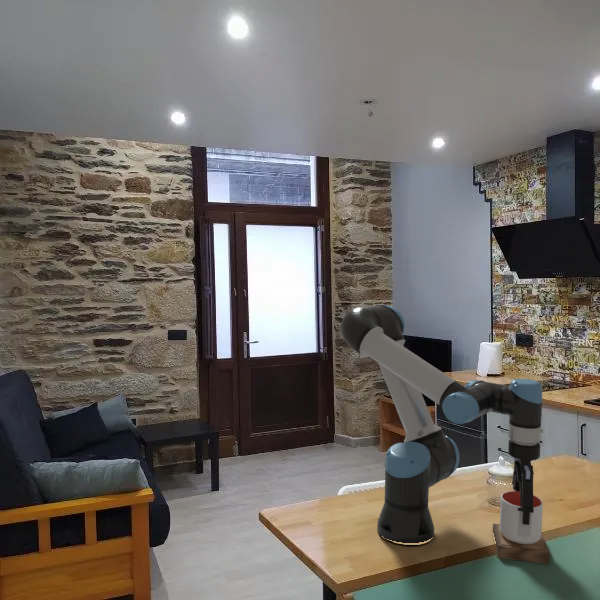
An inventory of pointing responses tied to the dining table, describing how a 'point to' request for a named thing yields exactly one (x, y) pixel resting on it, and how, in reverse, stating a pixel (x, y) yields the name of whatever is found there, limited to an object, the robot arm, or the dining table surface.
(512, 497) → the cup
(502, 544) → the base
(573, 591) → the dining table surface
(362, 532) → the dining table surface
